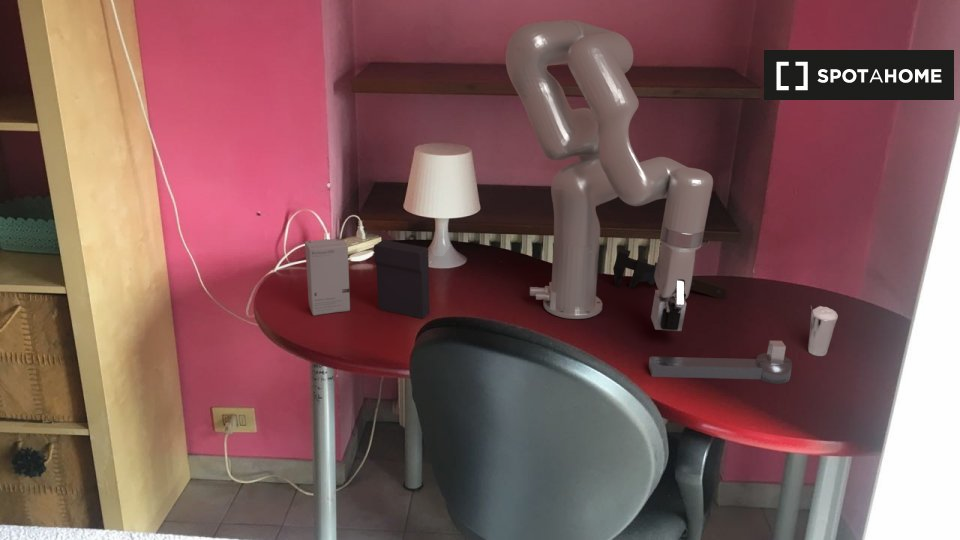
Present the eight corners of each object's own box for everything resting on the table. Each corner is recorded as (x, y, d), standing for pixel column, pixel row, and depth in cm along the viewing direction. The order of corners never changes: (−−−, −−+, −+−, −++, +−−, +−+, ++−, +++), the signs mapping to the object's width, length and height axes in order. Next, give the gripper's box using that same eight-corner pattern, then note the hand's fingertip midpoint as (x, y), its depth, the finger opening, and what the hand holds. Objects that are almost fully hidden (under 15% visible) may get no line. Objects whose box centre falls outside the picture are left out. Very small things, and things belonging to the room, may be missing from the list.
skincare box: (312, 316, 158) (306, 250, 153) (308, 305, 164) (302, 240, 158) (352, 310, 161) (348, 245, 155) (347, 299, 166) (342, 235, 161)
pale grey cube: (655, 329, 146) (660, 301, 143) (650, 316, 150) (655, 289, 148) (681, 331, 145) (686, 303, 143) (676, 318, 150) (681, 291, 147)
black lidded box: (431, 312, 161) (430, 246, 155) (421, 320, 157) (420, 253, 151) (387, 302, 165) (384, 238, 159) (376, 310, 161) (373, 244, 155)
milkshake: (795, 347, 147) (804, 300, 144) (822, 346, 148) (832, 299, 144) (807, 358, 143) (816, 310, 139) (834, 357, 144) (844, 309, 140)
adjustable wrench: (715, 318, 170) (608, 284, 174) (715, 313, 172) (609, 279, 177) (728, 285, 166) (618, 251, 171) (728, 281, 169) (619, 247, 173)
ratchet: (652, 381, 135) (656, 348, 133) (647, 364, 141) (650, 333, 139) (794, 384, 135) (800, 352, 132) (783, 367, 140) (788, 336, 138)
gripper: (653, 217, 148) (640, 300, 155) (670, 252, 132) (654, 342, 140) (692, 220, 148) (676, 302, 155) (713, 255, 132) (695, 345, 140)
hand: (666, 320), depth 147 cm, fingers closed on pale grey cube, 5 cm apart
